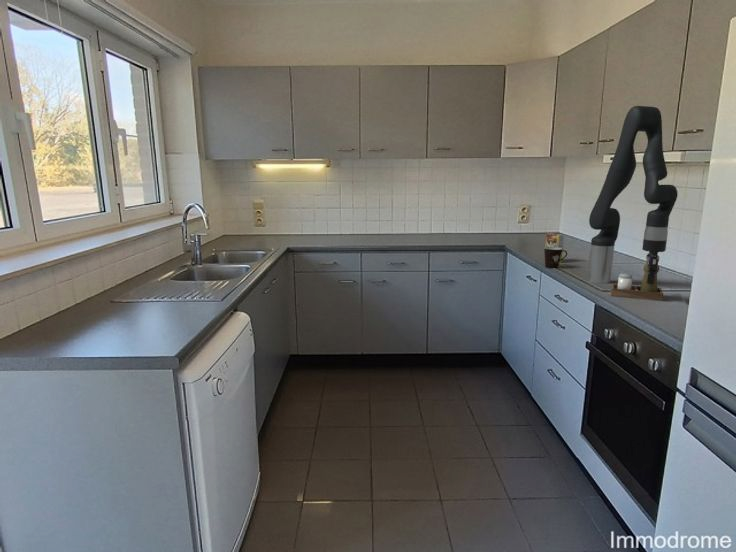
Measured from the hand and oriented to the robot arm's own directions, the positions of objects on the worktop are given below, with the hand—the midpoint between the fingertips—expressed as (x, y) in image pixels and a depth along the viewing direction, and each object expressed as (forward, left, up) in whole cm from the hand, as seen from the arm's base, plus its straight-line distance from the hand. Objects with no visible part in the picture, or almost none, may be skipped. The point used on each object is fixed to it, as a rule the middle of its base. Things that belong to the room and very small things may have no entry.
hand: (649, 282), depth 177 cm
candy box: (-67, -40, -7) cm, 78 cm away
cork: (0, 0, -4) cm, 4 cm away
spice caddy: (0, -4, -7) cm, 8 cm away
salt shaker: (0, -8, -6) cm, 10 cm away
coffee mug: (-51, -38, -7) cm, 64 cm away
